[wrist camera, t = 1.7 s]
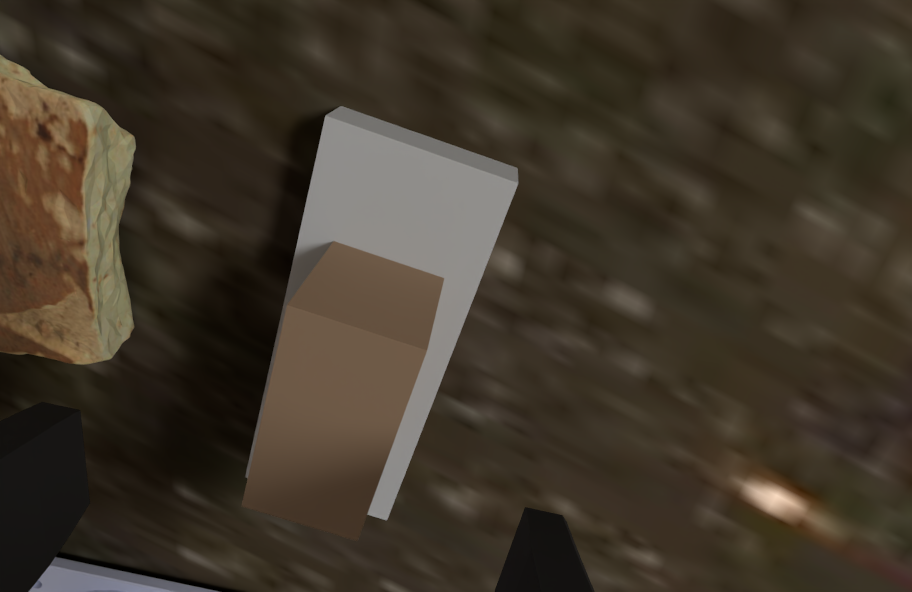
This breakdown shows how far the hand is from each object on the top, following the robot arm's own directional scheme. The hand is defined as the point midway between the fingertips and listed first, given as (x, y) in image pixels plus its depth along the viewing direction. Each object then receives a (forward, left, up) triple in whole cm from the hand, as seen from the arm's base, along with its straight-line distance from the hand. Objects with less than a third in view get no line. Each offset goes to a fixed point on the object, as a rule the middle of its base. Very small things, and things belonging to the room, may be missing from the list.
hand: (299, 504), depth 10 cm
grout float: (0, 0, -6) cm, 6 cm away
